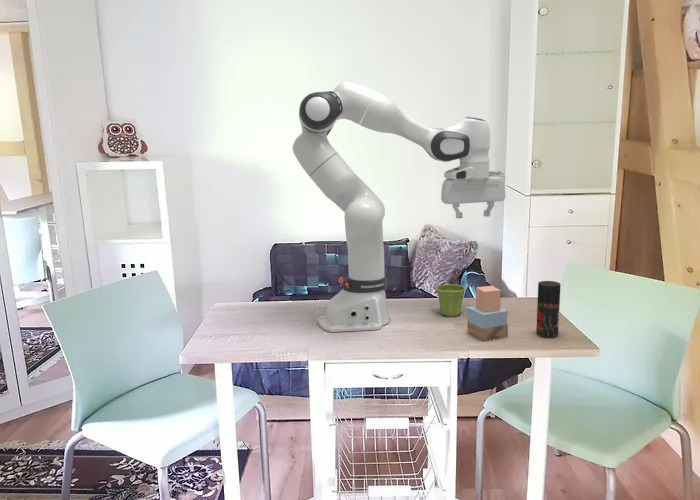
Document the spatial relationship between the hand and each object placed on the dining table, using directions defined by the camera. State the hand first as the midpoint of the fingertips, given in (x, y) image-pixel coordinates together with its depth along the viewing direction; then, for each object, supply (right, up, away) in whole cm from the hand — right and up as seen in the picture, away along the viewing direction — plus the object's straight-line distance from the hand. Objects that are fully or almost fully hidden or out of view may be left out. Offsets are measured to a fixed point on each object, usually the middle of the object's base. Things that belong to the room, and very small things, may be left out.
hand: (473, 217), depth 181 cm
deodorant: (+18, -34, -13) cm, 41 cm away
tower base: (+1, -35, -12) cm, 37 cm away
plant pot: (-6, -31, +7) cm, 32 cm away
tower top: (+1, -31, -13) cm, 34 cm away
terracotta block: (+1, -27, -14) cm, 30 cm away
